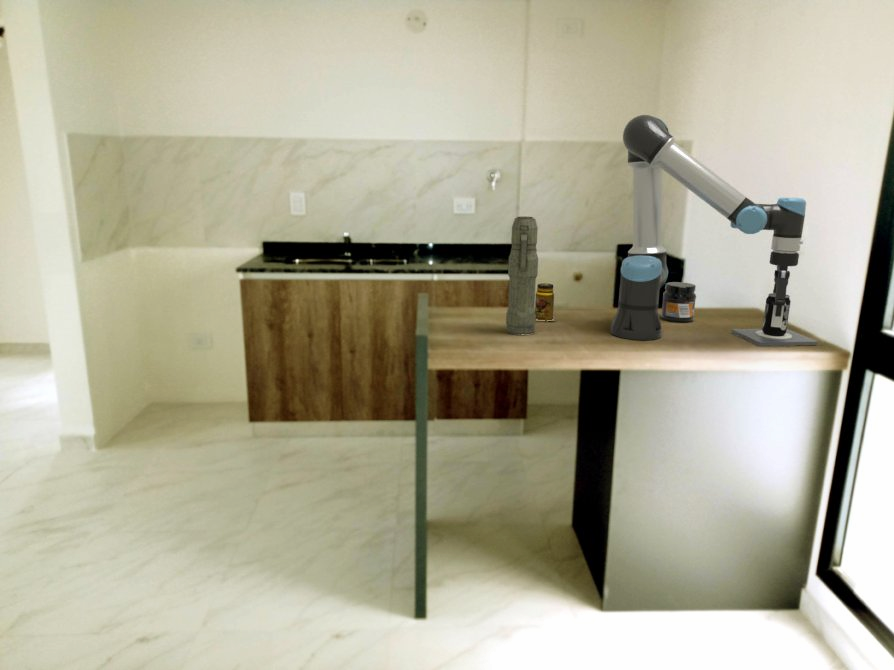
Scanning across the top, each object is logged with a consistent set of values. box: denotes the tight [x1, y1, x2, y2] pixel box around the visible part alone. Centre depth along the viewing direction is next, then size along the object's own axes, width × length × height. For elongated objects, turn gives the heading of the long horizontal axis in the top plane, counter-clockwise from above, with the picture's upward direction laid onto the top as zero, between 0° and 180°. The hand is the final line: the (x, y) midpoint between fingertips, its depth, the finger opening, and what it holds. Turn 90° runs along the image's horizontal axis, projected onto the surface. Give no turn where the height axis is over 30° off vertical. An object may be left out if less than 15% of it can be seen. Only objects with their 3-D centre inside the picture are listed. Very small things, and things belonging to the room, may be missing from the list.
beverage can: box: [761, 292, 791, 336], centre depth 203 cm, size 7×7×12 cm
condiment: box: [534, 282, 555, 321], centre depth 225 cm, size 7×8×12 cm
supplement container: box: [660, 281, 697, 323], centre depth 227 cm, size 10×10×12 cm
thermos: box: [505, 216, 539, 336], centre depth 205 cm, size 9×12×35 cm
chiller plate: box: [730, 328, 819, 347], centre depth 205 cm, size 18×16×2 cm
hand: (775, 322), depth 204 cm, fingers open, 13 cm apart
